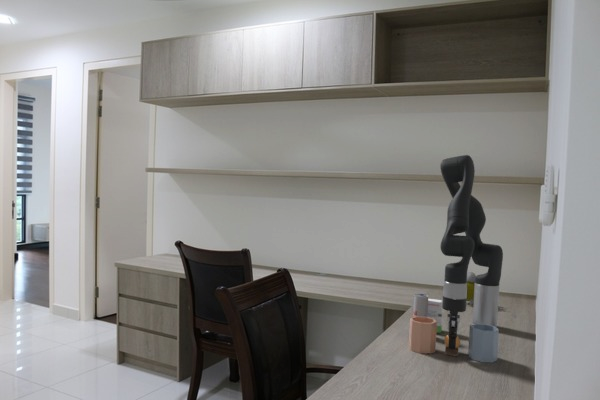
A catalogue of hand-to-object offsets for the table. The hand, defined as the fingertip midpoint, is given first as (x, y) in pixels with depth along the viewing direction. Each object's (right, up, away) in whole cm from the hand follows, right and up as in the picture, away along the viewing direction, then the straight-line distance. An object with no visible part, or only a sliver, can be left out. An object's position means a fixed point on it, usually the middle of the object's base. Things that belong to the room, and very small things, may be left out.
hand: (451, 346), depth 163 cm
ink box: (0, -2, +26) cm, 26 cm away
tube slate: (+9, -3, -3) cm, 10 cm away
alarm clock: (+30, -2, +74) cm, 79 cm away
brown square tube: (0, -2, 0) cm, 2 cm away
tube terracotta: (-9, -2, +3) cm, 10 cm away
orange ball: (0, +2, 0) cm, 2 cm away
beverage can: (-6, -2, +19) cm, 20 cm away
